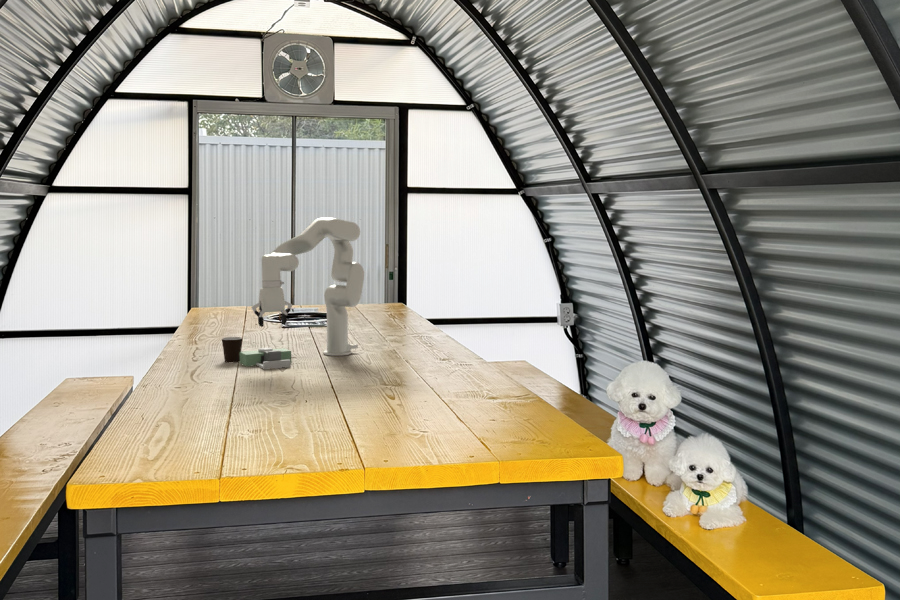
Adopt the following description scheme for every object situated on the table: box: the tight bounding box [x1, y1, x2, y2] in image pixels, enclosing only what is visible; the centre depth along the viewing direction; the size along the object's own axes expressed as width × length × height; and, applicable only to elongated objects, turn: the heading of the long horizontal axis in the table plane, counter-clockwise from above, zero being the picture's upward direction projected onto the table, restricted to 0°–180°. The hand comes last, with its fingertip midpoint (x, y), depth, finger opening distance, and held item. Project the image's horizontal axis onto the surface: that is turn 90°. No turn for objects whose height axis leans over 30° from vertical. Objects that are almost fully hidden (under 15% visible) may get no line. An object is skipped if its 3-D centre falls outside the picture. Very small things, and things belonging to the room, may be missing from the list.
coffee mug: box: [221, 336, 243, 363], centre depth 349 cm, size 12×9×10 cm
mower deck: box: [239, 347, 292, 370], centre depth 340 cm, size 20×18×6 cm
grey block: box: [264, 350, 281, 362], centre depth 337 cm, size 5×7×7 cm
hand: (272, 325), depth 336 cm, fingers open, 9 cm apart
